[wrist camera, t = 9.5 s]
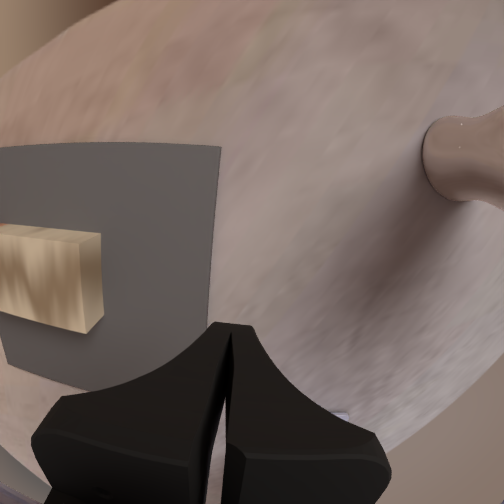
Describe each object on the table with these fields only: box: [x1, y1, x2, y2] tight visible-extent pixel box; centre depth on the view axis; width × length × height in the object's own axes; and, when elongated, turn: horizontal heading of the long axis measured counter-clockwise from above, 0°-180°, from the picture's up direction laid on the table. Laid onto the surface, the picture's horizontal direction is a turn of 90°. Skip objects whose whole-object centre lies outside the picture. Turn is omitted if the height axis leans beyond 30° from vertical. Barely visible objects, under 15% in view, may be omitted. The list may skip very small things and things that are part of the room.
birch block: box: [0, 223, 104, 334], centre depth 19 cm, size 6×3×10 cm
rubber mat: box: [0, 142, 221, 392], centre depth 21 cm, size 20×20×1 cm
